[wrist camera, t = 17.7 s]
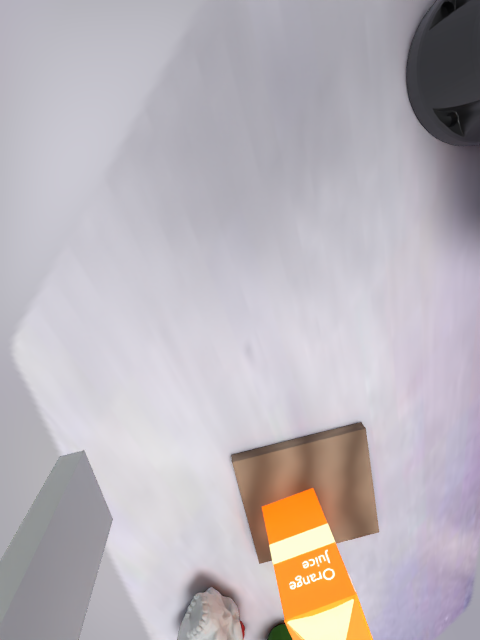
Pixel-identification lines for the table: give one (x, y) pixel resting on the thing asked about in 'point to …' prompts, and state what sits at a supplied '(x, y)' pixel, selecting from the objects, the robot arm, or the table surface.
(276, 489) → the board
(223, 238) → the table surface
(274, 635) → the bell pepper
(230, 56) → the table surface
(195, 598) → the white red rounded lump
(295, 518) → the orange juice
